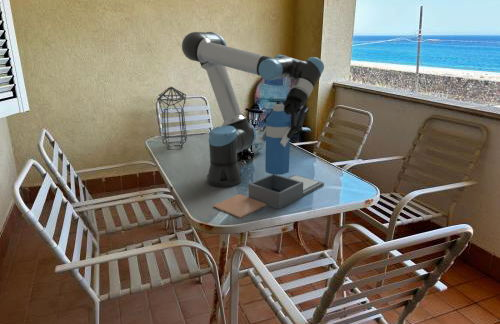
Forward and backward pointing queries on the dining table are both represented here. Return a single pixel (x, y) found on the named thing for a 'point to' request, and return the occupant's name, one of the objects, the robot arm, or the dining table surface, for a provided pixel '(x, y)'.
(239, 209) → the terracotta tile
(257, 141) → the chinaware
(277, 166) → the water bottle
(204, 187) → the dining table surface
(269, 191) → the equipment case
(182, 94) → the geometric lantern
